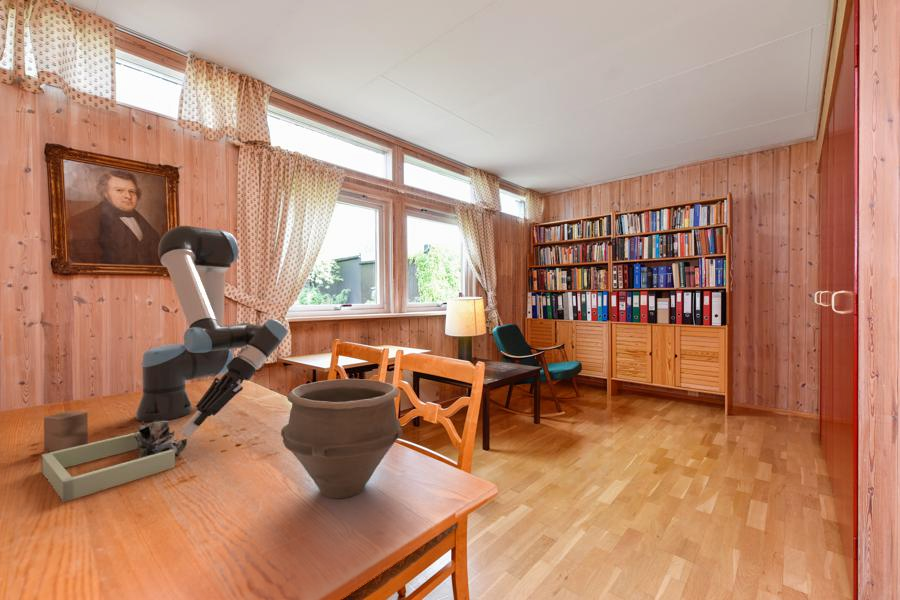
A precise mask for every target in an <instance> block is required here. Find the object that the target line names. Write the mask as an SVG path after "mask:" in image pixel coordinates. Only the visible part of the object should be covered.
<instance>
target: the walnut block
mask: <svg viewBox="0 0 900 600" xmlns="http://www.w3.org/2000/svg"><path fill="white" fill-rule="evenodd" d="M43 424H44V425H43V438H44V439H43V442H44V444H43V447H44V449H43V450H44V452H45V451H49V452H48V453H50V452H55V451H59V450H63V449H68V448H72V447H76V446H80V445H85V444H89V442H88V441H89V439H88V438H89V437H88V435H89V433H88V431H89V429H88V428H89V427H88V426H89V425H88V424H89V423H88V412H86V411H80V410H79V411H77V410H68V411H65V412H60V413H56V414H53V415H48V416H44V417H43Z"/></svg>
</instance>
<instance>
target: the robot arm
mask: <svg viewBox="0 0 900 600" xmlns="http://www.w3.org/2000/svg"><path fill="white" fill-rule="evenodd" d="M157 251H158V252H157V253H158V258H159V260H160V263H161V265H162V266H163V267H165V268H167V272H168V274H169V277H170V279H171V281H172V285H173V288H174V290H175V293H176V296H177V298H178V301H179V304H180V307H181V310H182V313H183V315H184V318H185V320H186V323H187V326H188V328H187V329H186V330H185V332H184V334H183V343H174V344H165V345H159V346H155V347H152V348H149V349H147V350H146V351H144V353H143V355H142V362H141V367H142V396H141V399H140V402H139V404H138V407H137V410H136V412H135V418H136V421H138V422H142V420H144V423H145V422H148V423H151V422H152V421H153V420H154V419H156V420H163V421H170V420H173V419H177V418H181V417H184V416H186V415H189V414H190V413H192V411H193V410H192V407H193V405H192V402H191V400H190V398H189V395H188V393H187V390H186V382H187V381H190V380H198V379H203V378H210V377H213V378H214V377H215V378H214V379H213V381H212V383H211V385H210V386H209V387H208V389H207V391H206V392H204V394H203V396H202V397H201V398H200V399H199V401H198V402H197V404H196V405H195V407H196V411H195V412H194V413H193V415H192V416H191V417H190V418H189V419H188V420H187V421H186V423H184V424H183V426H182V427H181V429H179V430H178V433H179V434H182V436H185V437H186V438H188V439H190V438H191V437H192V436H193V435H194V433H195V432H196V431H197V430H198V429H199V427H200V426H201V425H202V424H203V423H204V422H205V421H206V419H207V418H209V417H211V416H216V415H217V414H218V413H219V412H220V411H221V410H222V409H223V408H224V407H225V406H226V405H228V403H229V402H230V401H231V400H232V399H233V398H234V397H235V396H236V395H238V394H239V393H240V392H242V390H244V387H243V386H241V384H243V382H244V381H245V382H246V381H250V379H252V377H253V376H254V375H255V374H256V373H257V370H259V369H260V368H261V367H262V365H264V363H265V362H266V361H267V359H268V358H269V357H270V356H272V354H273V352H274V351H275V350H276V349H277V348H278V347H279V345H281V343H282V342H283V341H284V339H285V338H286V336H287V335H288V333H289V332H288V329H287V327H286V326H285V325H284V324H283V323H282V322H281V321H279V320H278V319H277V320H276V319H274V318H269V319H267V320H266V322H264V323H263V324H262V325H259V324H253V323H250V322H246V323H245V322H240V323H238V324H237V323H236V324H231V325H224V314H225V313H224V310H225V289H226V272H227V271H229V270H230V269H231V267H232V265H231V264H234V263H236V261H237V258H238V257H239V252H240V251H239V245H238V241H237V239H236V238H235V236H234V235H233V234H232V233H231V232H228V231H224V230H221V229H213V228H205V227H199V226H198V227H197V226H191V225H178V226H175V227H173V228H170V229H169V230H167V231H166V232H165V233H164V234H163V235H162V237H161V239H160V241H159V243H158V247H157ZM233 349H240V350H239V351H238V353H237V354H236V356H235V357H234V351H233ZM223 374H224V375H223ZM219 375H223V376H222V377H221V378H218V377H216V376H219Z"/></svg>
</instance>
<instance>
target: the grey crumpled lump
mask: <svg viewBox="0 0 900 600" xmlns="http://www.w3.org/2000/svg"><path fill="white" fill-rule="evenodd" d="M170 422H171V421H170V420H156V419H154V420H153V421H152V422H148V423H145V422H144V420H142V421H141V423H140V424H139V427H138V428H136V430H133V433H136V432H139V433H141V436H142V437H139V436H137V433H136V434H134V437H133V438H136V440H137V442H138V449H137V450H138V456H139V458H143V457H146V456H150V455H153V454H157V453H161V452H162V451H164V450H165V449H167V450H171V449H173V450H175V456H180V454H181V453H182V452H183V450H184V449H185V448H186V446H187V444H188V439H187V438H183V439H181V440H179V441H178V438H179V437H178V434H176V435H177V436H176V437H177V439H174V437H175V430H174V431H172V432H170ZM132 428H133V429H134V428H135V426H133V427H132ZM177 441H178V442H177ZM176 442H177V443H176Z"/></svg>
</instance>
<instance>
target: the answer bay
mask: <svg viewBox="0 0 900 600" xmlns="http://www.w3.org/2000/svg"><path fill="white" fill-rule="evenodd" d="M135 432H136V433H137V436H139V437H142V436H141V433H139V431H135ZM135 432H132V433H128V434H123V435H120V436H115V437H110V438H107V439H103V440H98V441H94V442H90V443H89V442H88V444H85V445H80V446H76V447H72V448H68V449H63V450H59V451H55V452H46V453H43V454H41V473H42V475H43V476H44V475H45V476H44V477H45V478H47V479H48V480H47V479H46V480H47V481H48V483H49V482H50V483H51V484H50V483H49V484H50V486H51V485H52V486H53V487H52V486H51V487H52V488H53V490H54V489H55V490H54V491H55V492H57V493H58V494H57V493H56V494H57V495H58V497H59V496H60V497H59V498H60V500H61V499H62V500H61V501H62V503H66V502H69V501H72V499H73V500H76V499H79V498H82V497H85V496H89V495H91V494H94V493H98V492H100V491H101V492H102V491H104V490H107V489H110V488H113V487H114V488H115V487H117V486H120V485H123V484H126V483H129V482H133V481H135V480H139V479H142V478H145V477H149V476H153V475H155V474H158V473H159V474H160V473H161V472H165V471H168V470H171V469H174V468H175V467H176V455H175V450H173V449H171V450H169V449H167V450H165V451H164V450H163V451H160V452H159V453H157V454H153V455H150V456H146V457H143V458H140V457H139V458H135V459H133V460H130V461H125V462H121V463H118V464H115V465H111V466H107V467H103V468H100V469H96V470H94V471H90V472H86V473H82V474H79V475H76V476H71V474H70V473H69V472H68V470H66V468H69V467H73V466H77V465H82V464H85V463H88V462H92V461H97V460H99V459H105V458H107V457H112V456H115V455H118V454H122V453H127V452H130V451H134V450H138V442H137V440H136V438H133V437H134V434H136V433H135Z"/></svg>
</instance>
